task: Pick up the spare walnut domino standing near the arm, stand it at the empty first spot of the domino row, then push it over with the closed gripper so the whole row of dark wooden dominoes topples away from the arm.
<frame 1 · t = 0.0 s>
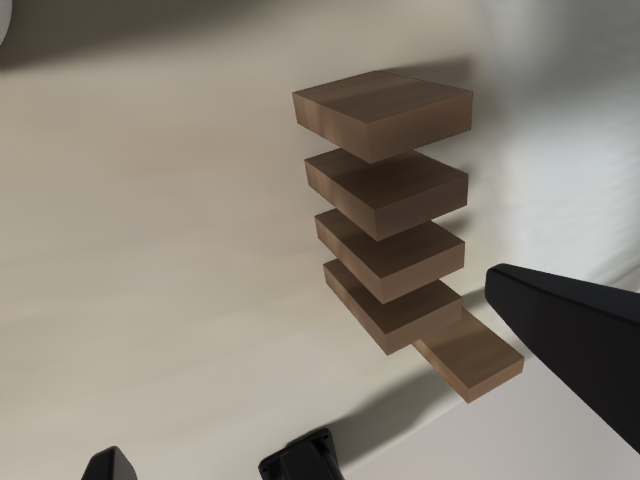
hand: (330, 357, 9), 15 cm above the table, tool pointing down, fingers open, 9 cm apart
domino 1: (356, 260, 28), on the table
domino 3: (344, 160, 24), on the table
domino 4: (336, 96, 22), on the table
domino 2: (351, 214, 26), on the table
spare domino: (428, 317, 35), on the table
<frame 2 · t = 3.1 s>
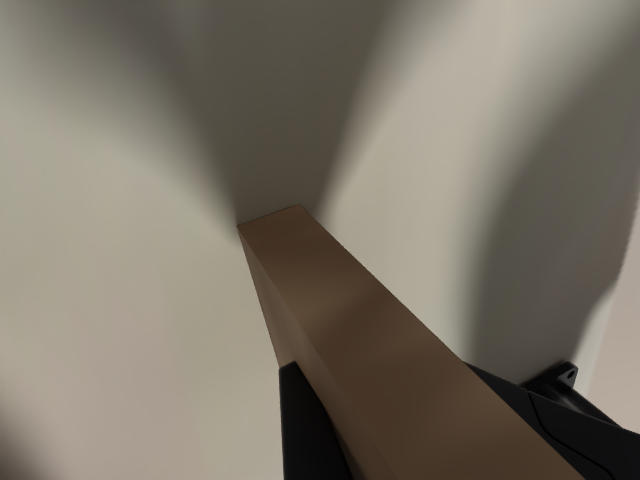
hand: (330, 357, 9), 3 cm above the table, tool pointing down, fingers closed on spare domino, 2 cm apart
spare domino: (288, 294, 11), on the table, touching gripper
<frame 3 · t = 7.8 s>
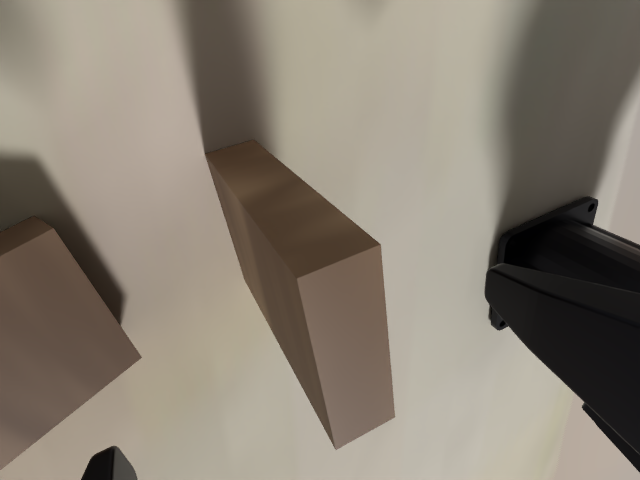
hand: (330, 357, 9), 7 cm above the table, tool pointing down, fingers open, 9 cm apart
domino 1: (91, 291, 12), point 1 cm above the table, tilted 66°, touching domino 2
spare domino: (248, 215, 14), on the table
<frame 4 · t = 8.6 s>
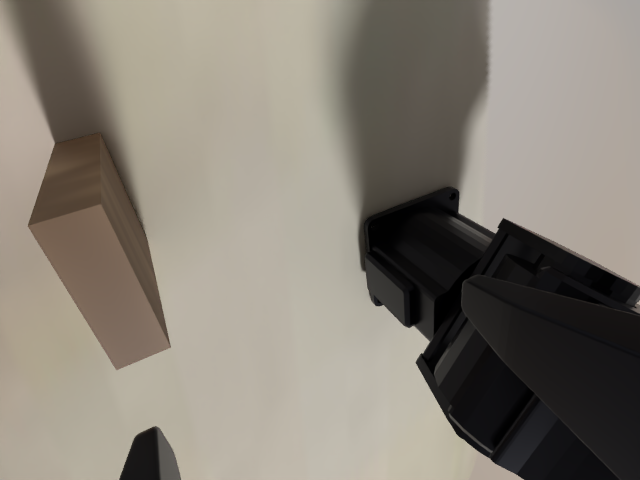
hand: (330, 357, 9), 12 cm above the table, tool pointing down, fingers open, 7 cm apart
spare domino: (105, 196, 17), on the table
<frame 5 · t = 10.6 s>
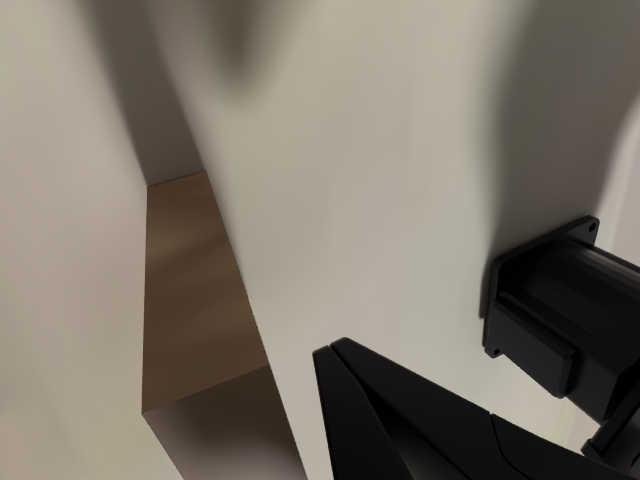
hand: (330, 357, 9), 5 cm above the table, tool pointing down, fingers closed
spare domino: (204, 253, 13), on the table, tilted 5°
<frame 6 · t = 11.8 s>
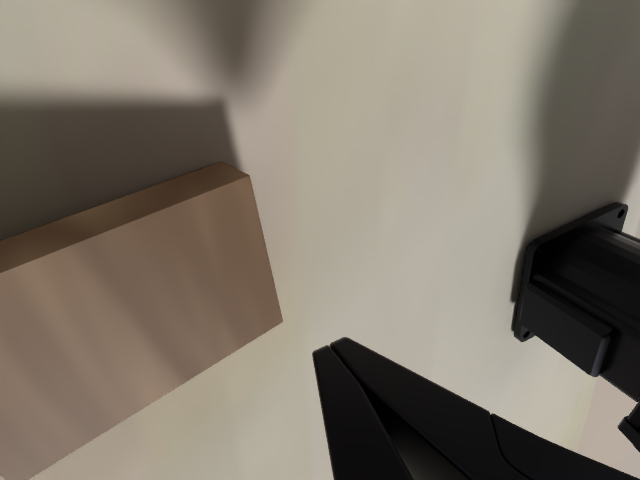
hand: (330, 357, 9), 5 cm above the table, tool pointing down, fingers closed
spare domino: (253, 246, 12), point 1 cm above the table, tilted 77°, touching domino 1
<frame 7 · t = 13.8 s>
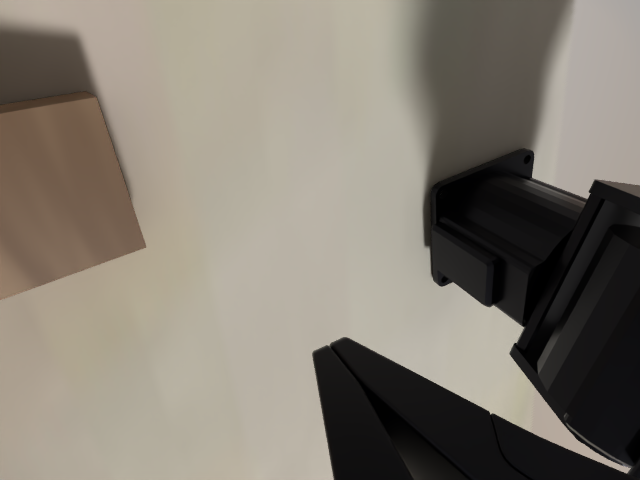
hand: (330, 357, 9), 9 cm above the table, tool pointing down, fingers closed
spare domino: (117, 173, 13), point 1 cm above the table, tilted 77°
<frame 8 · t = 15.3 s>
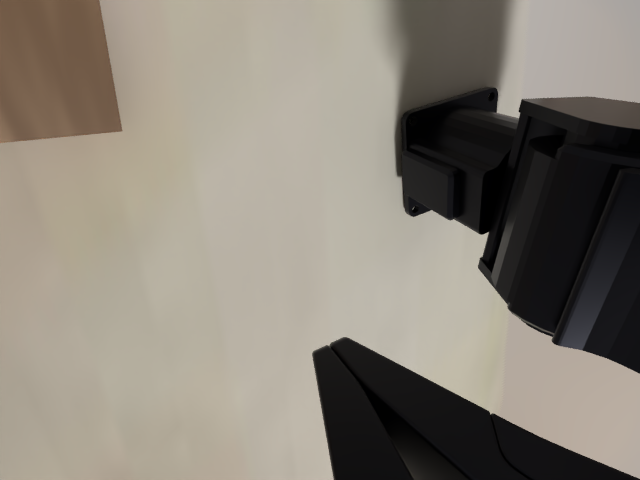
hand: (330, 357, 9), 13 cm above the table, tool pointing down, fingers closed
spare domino: (104, 58, 15), point 1 cm above the table, tilted 78°, touching domino 1
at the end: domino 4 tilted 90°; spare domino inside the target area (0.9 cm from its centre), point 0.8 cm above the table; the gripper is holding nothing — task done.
